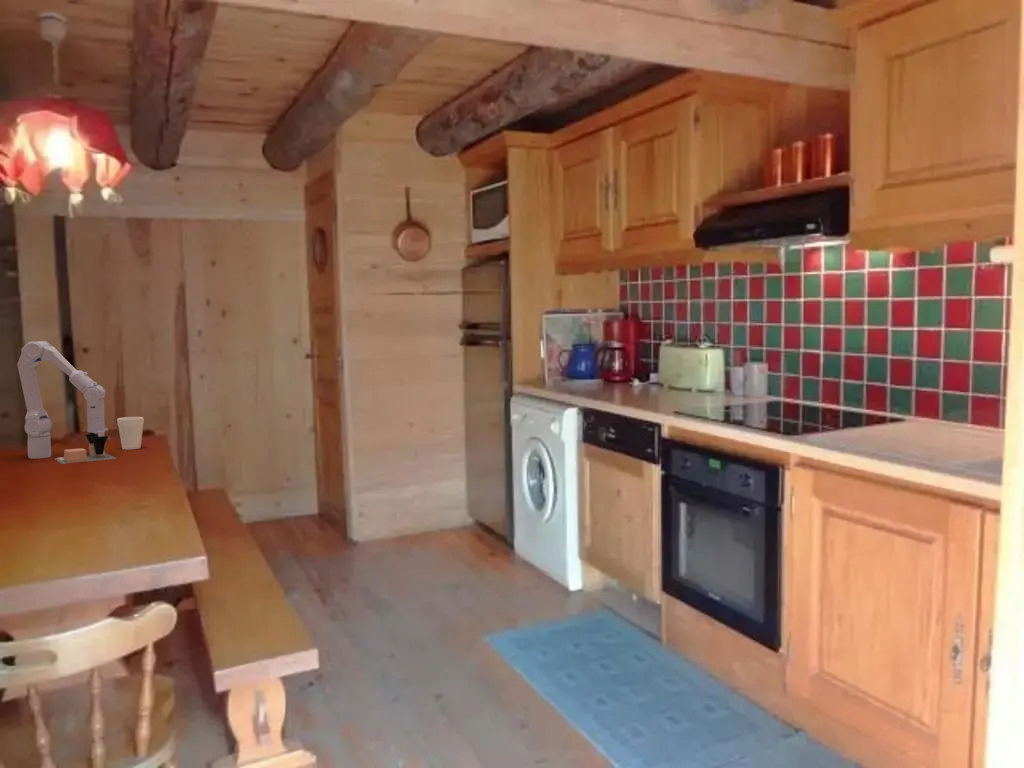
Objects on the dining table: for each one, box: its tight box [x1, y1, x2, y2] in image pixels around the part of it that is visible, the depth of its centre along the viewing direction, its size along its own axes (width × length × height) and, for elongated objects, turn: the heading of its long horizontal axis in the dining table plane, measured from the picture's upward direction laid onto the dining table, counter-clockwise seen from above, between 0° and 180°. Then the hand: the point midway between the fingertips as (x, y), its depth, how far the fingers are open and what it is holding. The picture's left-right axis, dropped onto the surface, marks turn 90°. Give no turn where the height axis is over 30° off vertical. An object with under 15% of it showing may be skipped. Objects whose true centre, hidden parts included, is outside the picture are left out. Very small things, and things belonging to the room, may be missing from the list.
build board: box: [53, 452, 117, 465], centre depth 294 cm, size 14×18×1 cm
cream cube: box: [88, 443, 106, 457], centre depth 300 cm, size 4×4×4 cm
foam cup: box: [116, 416, 145, 450], centre depth 318 cm, size 10×9×13 cm
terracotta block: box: [63, 447, 88, 464], centre depth 289 cm, size 6×6×4 cm
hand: (97, 453), depth 300 cm, fingers open, 6 cm apart
